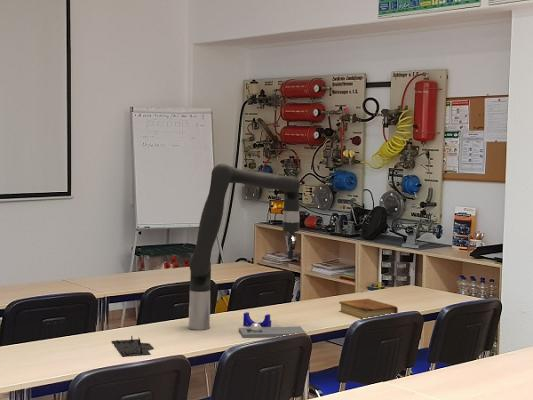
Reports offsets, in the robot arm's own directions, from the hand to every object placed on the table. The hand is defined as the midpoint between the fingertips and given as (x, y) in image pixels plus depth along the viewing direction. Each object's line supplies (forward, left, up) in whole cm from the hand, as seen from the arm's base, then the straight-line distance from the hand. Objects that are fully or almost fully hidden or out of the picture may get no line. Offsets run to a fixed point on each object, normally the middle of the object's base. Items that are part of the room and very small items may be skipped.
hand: (290, 259), depth 374 cm
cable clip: (-13, +7, -32) cm, 36 cm away
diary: (+45, +28, -33) cm, 62 cm away
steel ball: (-16, -8, -30) cm, 35 cm away
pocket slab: (-9, -8, -32) cm, 34 cm away
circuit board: (-69, -27, -33) cm, 81 cm away
